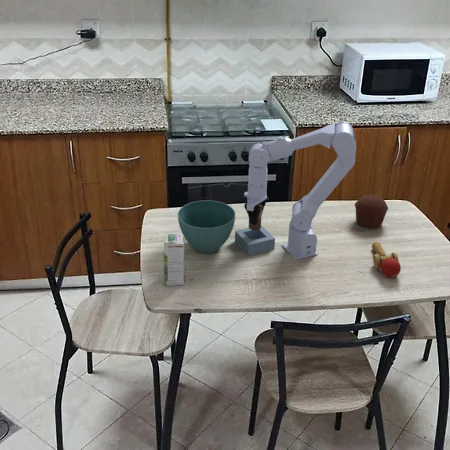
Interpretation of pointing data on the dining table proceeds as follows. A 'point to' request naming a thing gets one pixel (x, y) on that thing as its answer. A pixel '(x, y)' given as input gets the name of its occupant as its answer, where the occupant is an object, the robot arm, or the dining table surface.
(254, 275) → the dining table surface
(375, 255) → the kendama
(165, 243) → the syrup box
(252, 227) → the peg
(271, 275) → the dining table surface
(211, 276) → the dining table surface
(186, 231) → the teal bowl
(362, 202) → the muffin
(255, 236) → the socket
